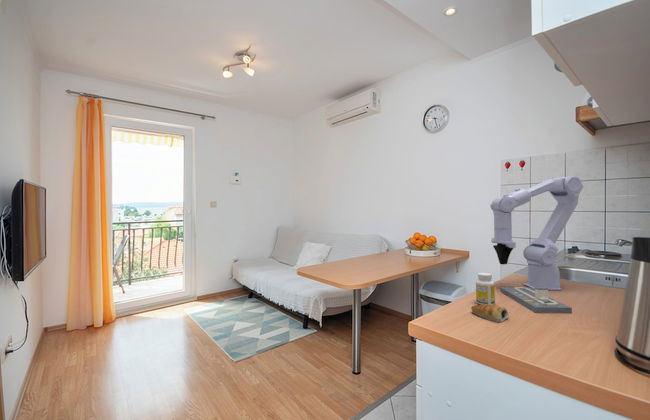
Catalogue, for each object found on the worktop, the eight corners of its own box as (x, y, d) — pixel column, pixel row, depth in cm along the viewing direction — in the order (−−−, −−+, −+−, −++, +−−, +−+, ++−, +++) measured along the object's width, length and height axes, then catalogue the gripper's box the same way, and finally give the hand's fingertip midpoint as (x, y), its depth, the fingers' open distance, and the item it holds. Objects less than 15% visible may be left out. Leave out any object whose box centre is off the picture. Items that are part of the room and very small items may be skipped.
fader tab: (544, 298, 96) (543, 286, 96) (550, 302, 93) (549, 289, 93) (533, 298, 96) (533, 286, 96) (539, 301, 93) (539, 289, 93)
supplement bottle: (490, 301, 101) (489, 272, 101) (498, 306, 96) (497, 275, 96) (473, 300, 102) (473, 272, 101) (480, 306, 96) (479, 275, 96)
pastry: (466, 314, 90) (466, 302, 90) (478, 309, 94) (478, 297, 94) (500, 324, 82) (499, 310, 82) (511, 318, 86) (510, 305, 86)
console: (529, 291, 110) (529, 285, 110) (571, 313, 88) (571, 305, 88) (500, 291, 111) (500, 285, 111) (535, 312, 90) (535, 304, 89)
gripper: (483, 227, 122) (484, 260, 123) (500, 230, 108) (501, 268, 108) (502, 227, 122) (502, 260, 122) (521, 230, 107) (522, 268, 107)
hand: (503, 264), depth 115 cm, fingers closed
